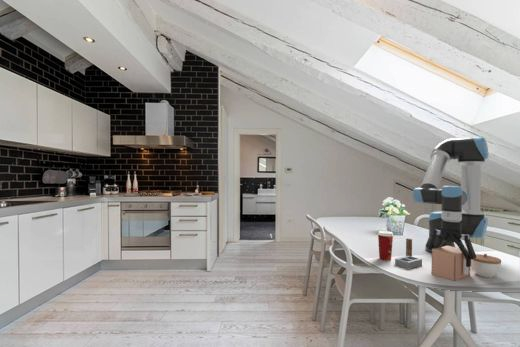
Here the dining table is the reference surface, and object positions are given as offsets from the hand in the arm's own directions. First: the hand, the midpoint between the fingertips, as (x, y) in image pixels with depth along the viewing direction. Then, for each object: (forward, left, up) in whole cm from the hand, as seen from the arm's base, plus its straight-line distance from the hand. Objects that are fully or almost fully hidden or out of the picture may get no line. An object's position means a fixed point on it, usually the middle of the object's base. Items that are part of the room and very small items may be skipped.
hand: (450, 269), depth 125 cm
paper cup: (+5, -29, -2) cm, 30 cm away
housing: (0, 0, -2) cm, 2 cm away
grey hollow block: (+4, -17, -2) cm, 18 cm away
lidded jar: (-13, +8, -2) cm, 15 cm away
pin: (-8, -24, -2) cm, 25 cm away
